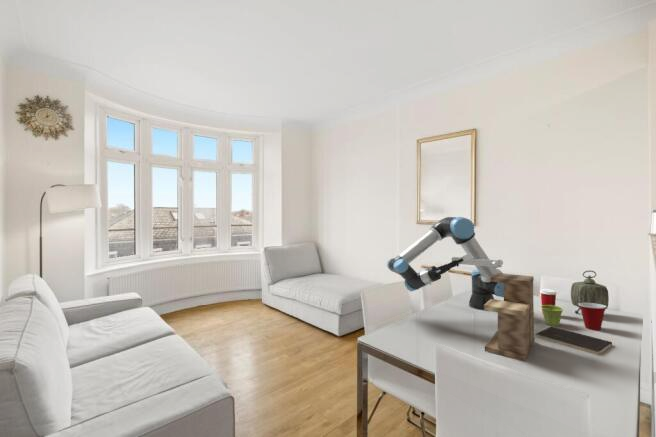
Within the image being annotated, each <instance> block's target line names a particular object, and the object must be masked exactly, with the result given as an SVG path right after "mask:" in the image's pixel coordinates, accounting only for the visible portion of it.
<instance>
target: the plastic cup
mask: <svg viewBox="0 0 656 437" xmlns="http://www.w3.org/2000/svg"><path fill="white" fill-rule="evenodd" d="M578 305H579V306H580V308H581V309H580V311H581V315H582V319H583V323H584V327H585V328H586V329H588V330H591V331H600V330H601V328H602V324H603V320H604V316H605V311H606V309H605V308H606V307H607V306H605V305H601V304H595V303H579V304H578Z"/></svg>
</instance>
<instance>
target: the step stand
mask: <svg viewBox="0 0 656 437" xmlns="http://www.w3.org/2000/svg"><path fill="white" fill-rule="evenodd" d="M534 281H535V280H534V276H533V275H523V274H522V275H521V274H510V273H503V272H502V273H496V274H494V275H493V276H491V282H499V283H504V297H503V300H500V299H495V298H494V299H490V300H489V301H488V302H487V303H486V304H484V310H485V311H489V312H490V311H491V312H496V313H497V330H496V332H494V334H493V335H492V336H491V337H490V339H489V340H488V341H487V343H486V344H485V345H484V352H487V353H491V354H496V355H499V356H503V357H507V358H509V359H515V360H519V361H523V362H527V359H528V357H529V354H530V352H531V351H532V348H533V346H534V344H535V325H534V324H535V322H534V319H535V317H534V316H535V315H534V313H535V312H534V311H535V310H534ZM484 310H483V311H484Z"/></svg>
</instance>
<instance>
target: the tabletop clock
mask: <svg viewBox="0 0 656 437" xmlns="http://www.w3.org/2000/svg"><path fill="white" fill-rule="evenodd" d="M590 272H591V273H594V275H593V276H592V275H590V274H589V275H588V276H585V274H586V273H590ZM582 276H583V278H585V279H584V280H583V281H576V282H573V283H572V284H571V289H570V299H571V303H572V305H573V306H574V307H577V308H578V309H577V310H574V313H575V314H579V311H581V308H580V306H579V305H578V304H579V303H595V304H601V305H605V306H607V307H606V308H605V310H606V309H608V307H609V301H610V300H609V296H610V295H609V290H608V288H607V286H606V285H602V284H601V283H596V281H595V280H594V279H593V278H596V277H597V273H596V271H594V270H585V271H584V272H583V273H582Z"/></svg>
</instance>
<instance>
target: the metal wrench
mask: <svg viewBox="0 0 656 437" xmlns="http://www.w3.org/2000/svg"><path fill="white" fill-rule="evenodd" d="M459 258H461V257H458V256H457V257H456V256H453V257H451V262H452V261H454V260H457V259H459ZM503 264H504V261H503V260H502V259H497V260H496V259H490V260H487V259H473V258H471V259H470V260H468V261H466V262H463V263H461V264H460V265H468V266H475V265H477V266H489V267H494V268H496V269H499V268H502V266H503Z"/></svg>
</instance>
